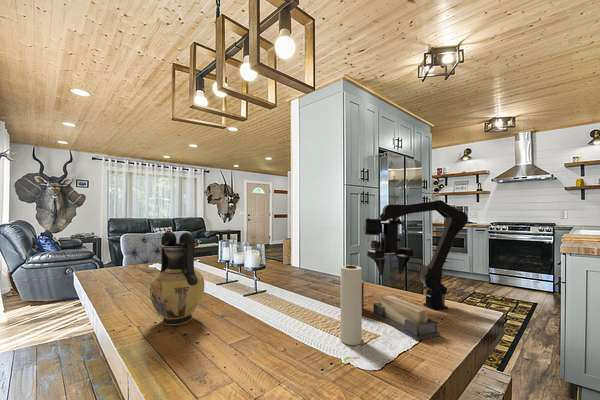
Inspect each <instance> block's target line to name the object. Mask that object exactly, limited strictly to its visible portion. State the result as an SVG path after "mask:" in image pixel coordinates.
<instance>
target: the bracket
mask: <svg viewBox="0 0 600 400" xmlns="http://www.w3.org/2000/svg"><path fill="white" fill-rule="evenodd" d="M371 315H372V316H374V317H375V318H377V319H378V320H381V321H382V322H384V323H385V324H387V325H388V326H391V327H393V328H394V329H396V330H397V331H399V332H401V333H402V332H403V334H404V333H405V334H404V335H405V336H407V335H408V336H407V337H409V336H410V338H411V337H412V338H411V339H413V340H414V339H415V341H416V342H419V341H422V340H427V339H433V338H438V337H440V336H441V333H440V332H439V331H438V322H437V321H435V320H434V319H431V318H430V317H429V318H428V317H427V318H428V322H427V323H421V324H415V323H413V322H411V321H409V320H408V319H406V320H405V325H403V324H401V323H399V322H397V321H395V320H393V319H391V318H389V317H386V316H385V308H384V307H382V306H381V301H380V302H373V311H371Z"/></svg>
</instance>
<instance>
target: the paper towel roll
mask: <svg viewBox="0 0 600 400" xmlns="http://www.w3.org/2000/svg"><path fill="white" fill-rule="evenodd" d="M362 269H363V268H362V267H361V266H357V265H353V264H348V263H347V264H346V265H342V266H340V331H339V332H340V335H339V336H340V341H341V343H343V344H345V345H349V346H357V345H360V344H362V341H363V340H362V338H363V335H362V334H363V333H362V330H363V329H362V328H363V327H362V326H363V323H362V322H363V320H362V319H363V318H362V316H363V313H362V312H363V311H362V280H363V279H362V278H363V276H362V275H363V273H362V272H363V271H362Z"/></svg>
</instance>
